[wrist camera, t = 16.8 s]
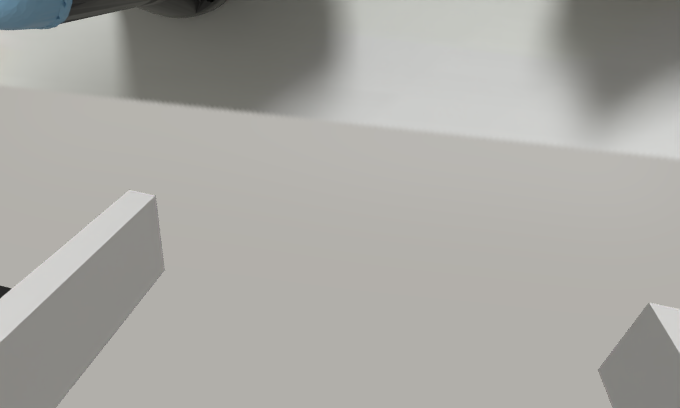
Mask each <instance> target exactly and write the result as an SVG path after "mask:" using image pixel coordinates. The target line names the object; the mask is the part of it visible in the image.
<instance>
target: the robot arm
mask: <svg viewBox="0 0 680 408" xmlns="http://www.w3.org/2000/svg"><path fill="white" fill-rule="evenodd" d="M225 1H226V0H0V30H22V29H49V28H53V27H57V26H58V25H59V24H62V23H66V22H71V21H75V20H80V19H84V18H89V17H93V16H98V15H102V14H107V13H111V12H116V11H120V10H125V9H129V8H134V7H138V8H140V9H143V10H146V11H149V12H151V13H154V14H157V15H161V16H165V17H172V18H186V17H192V16H196V15H200V14H203V13H206V12H209V11H212V10H214V9H215V8H217V7H219V6H220V5H222V4H223V3H224V2H225ZM163 272H164V261H163V253H162V244H161V236H160V228H159V220H158V212H157V203H156V196H155V195H151V194H147V193H142V192H138V191H133V190H128V191H127V192H126V193H125V194H124V195H122V196H121V197H120V198H119V199H118V200H116V201H115V202H114V203H113V204H112V205H110V206H109V207H108V208H107V209H106V210H105V211H103V212H102V213H101V214H100V215H99V216H98V217H96V218H95V219H94V220H93V221H91V222H90V223H89V224H88V225H87V226H86V227H84V228H83V229H82V230H81V231H80V232H79V233H77V234H76V235H75V236H74V237H73V238H71V239H70V240H69V241H68V242H67V243H65V244H64V245H63V246H62V247H61V248H59V250H57V251H56V252H55V253H54V254H53V255H51V256H50V257H49V258H48V259H47V260H46V261H44V262H43V263H42V264H41V265H39V266H38V267H37V268H36V269H35V270H34V271H32V272H31V273H30V274H29V275H27V276H26V277H25V278H24V279H23V280H22V281H20V282H19V283H18V284H17V285H16V286H15V287H13V288H8V287H3V286H0V408H56V407H57V406H58V404H59V403H60V402H61V400H62V399H63V398H64V397H65V395H66V394H67V393H68V392H69V390H70V389H71V388H72V386H73V385H74V384H75V383H76V381H77V380H78V379H79V378H80V376H81V375H82V374H83V373H84V371H85V370H86V369H87V368H88V366H89V365H90V364H91V363H92V361H93V360H94V359H95V358H96V356H97V355H98V354H99V352H100V351H101V350H102V349H103V347H104V346H105V345H106V343H107V342H108V341H109V340H110V339H111V337H112V336H113V335H114V333H115V332H116V331H117V330H118V328H119V327H120V326H121V325H122V323H123V322H124V321H125V320H126V318H127V317H128V316H129V314H130V313H131V312H132V311H133V309H134V308H135V307H136V306H137V304H138V303H139V302H140V301H141V299H142V298H143V297H144V295H145V294H146V293H147V292H148V291H149V289H150V288H151V287H152V285H153V284H154V283H155V282H156V280H157V279H158V278H159V277H160V275H161V274H162V273H163ZM598 372H599V374H600V376H601V379H602V382H603V384H604V387H605V389H606V392H607V394H608V397H609V399H610V402H611V405H612V407H613V408H680V309H676V308H672V307H667V306H662V305H658V304H653V303H648V304H647V306H646V307H645V308H644V310H643V311H642V312H641V314H640V315H639V317H638V318H637V319H636V320H635V322H634V323H633V324H632V326H631V327H630V329H628V331H627V332H626V333H625V335H624V336H623V337H622V339H621V340H620V341H619V343H618V344H617V345H616V347H615V348H614V349H613V351H612V352H611V353H610V355H609V356H608V357H607V359H606V360H605V361H604V362H603V364H602V365H601V366H600V368H599V369H598Z"/></svg>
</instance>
